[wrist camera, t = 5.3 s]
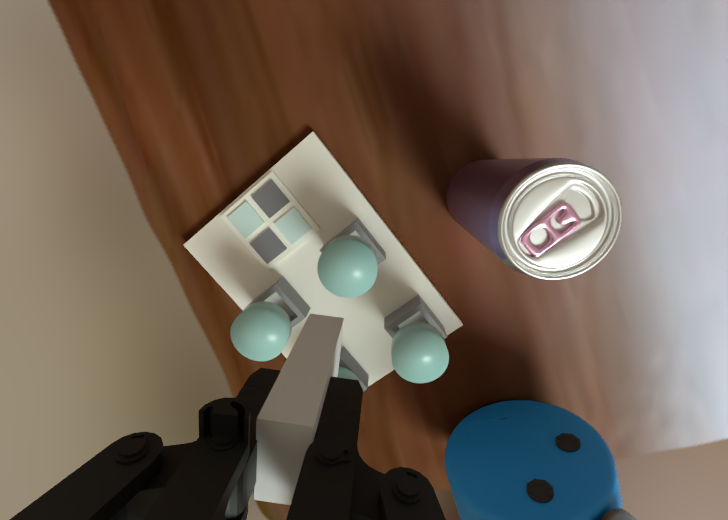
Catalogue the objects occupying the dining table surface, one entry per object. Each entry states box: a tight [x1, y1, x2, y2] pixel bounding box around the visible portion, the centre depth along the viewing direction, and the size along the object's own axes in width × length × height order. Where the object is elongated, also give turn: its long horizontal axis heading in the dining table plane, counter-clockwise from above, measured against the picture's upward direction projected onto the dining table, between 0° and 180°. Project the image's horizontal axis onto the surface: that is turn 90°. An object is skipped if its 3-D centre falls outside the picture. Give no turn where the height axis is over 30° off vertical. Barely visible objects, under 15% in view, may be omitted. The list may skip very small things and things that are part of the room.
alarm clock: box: [445, 400, 637, 520], centre depth 30 cm, size 13×6×15 cm, turn 107°
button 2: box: [231, 301, 292, 361], centre depth 30 cm, size 4×4×4 cm
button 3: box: [391, 322, 449, 383], centre depth 29 cm, size 4×4×4 cm
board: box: [184, 132, 463, 391], centre depth 33 cm, size 16×22×3 cm
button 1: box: [317, 235, 378, 298], centre depth 28 cm, size 4×4×4 cm
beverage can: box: [446, 158, 622, 280], centre depth 24 cm, size 6×6×15 cm
